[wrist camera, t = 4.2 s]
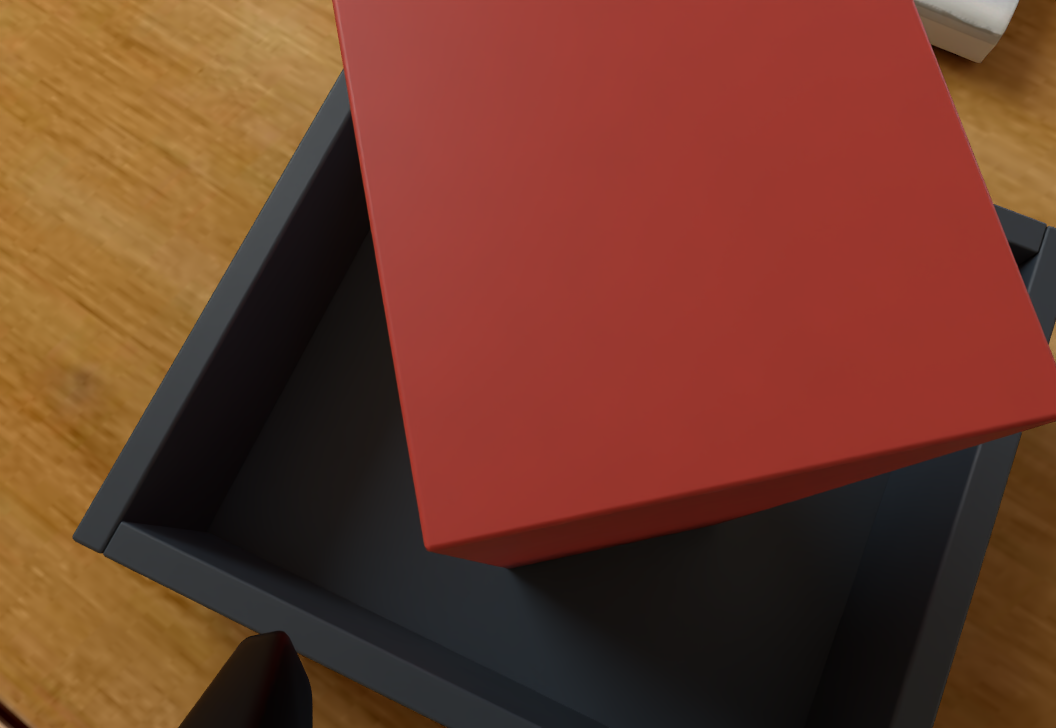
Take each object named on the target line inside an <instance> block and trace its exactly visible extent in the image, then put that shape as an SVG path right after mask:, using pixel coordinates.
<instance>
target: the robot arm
mask: <svg viewBox="0 0 1056 728" xmlns="http://www.w3.org/2000/svg"><path fill="white" fill-rule="evenodd" d="M178 728H313V716H312V691H311V686H310V682H309V679H308V677H307V674H306V672H305V670H304V668H303V666H302V663H301V661H300V659H299V657H298V655H297V652H296V650H295V648H294V646H293V644H292V641H291V639H290V638H289V636H288V635H287V634H286V633H285V632H284V631H273V632H268V633H263V634H259V635H254V636H250V637H248V638H246V639H245V640H243V641H242V642H241V643H240V644H239V646H238V647H237V648H236V650H235V651H234V652H233V654H232V655H231V657H230V658H229V659H228V661H227V662H226V663H225V665H224V666H223V667H222V669H221V670H220V672H219V673H218V674H217V676H216V677H215V678H214V680H213V681H212V682H211V684H210V685H209V686H208V688H207V689H206V691H205V692H204V693H203V695H202V696H201V697H200V699H199V700H198V701H197V703H196V704H195V706H194V707H193V708H192V710H191V711H190V712H189V714H188V715H187V716H186V718H185V719H184V720H183V722H182V723H181V725H180V726H179V727H178Z"/></svg>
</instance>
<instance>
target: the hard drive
mask: <svg viewBox="0 0 1056 728" xmlns="http://www.w3.org/2000/svg"><path fill="white" fill-rule="evenodd" d="M1018 2H1019V0H914V3H915V5H916V8H917V11H918V13H919V16H920V18H921V21H922V23H923V26H924V28H925V31H926V34H927V36H928V39H929V41H930V44H932V45H934V46H936V47H939V48H941V49H944V50H947V51H949V52H952V53H954V54H957V55H959V56H961V57H964V58H966V59H969V60H971V61H974V62H976V63H981V62H982V61H983V59H984V58H985V57H986V56H987V54H988V53H989V52H990V51H991V50H992V49H993V48H994V47H995V46H996V44H997V43H998V41H999V40H1000V38H1001V37H1002V35H1003V34H1004V32H1005V30H1006V28H1007V26H1008V24H1009V22H1010V20H1011V18H1012V16H1013V13H1014V11H1015V9H1016V7H1017V4H1018Z"/></svg>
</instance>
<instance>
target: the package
mask: <svg viewBox="0 0 1056 728" xmlns="http://www.w3.org/2000/svg"><path fill="white" fill-rule="evenodd" d="M332 2H333V8H334V14H335V20H336V26H337V32H338V38H339V44H340V50H341V55H342V61H343V67H344V73H345V79H346V85H347V91H348V97H349V103H350V109H351V115H352V121H353V126H354V132H355V138H356V144H357V150H358V156H359V162H360V168H361V174H362V180H363V186H364V192H365V197H366V203H367V209H368V215H369V221H370V227H371V233H372V239H373V245H374V251H375V257H376V263H377V269H378V274H379V280H380V286H381V292H382V298H383V304H384V310H385V316H386V322H387V328H388V334H389V340H390V345H391V351H392V357H393V363H394V369H395V375H396V381H397V387H398V393H399V399H400V405H401V411H402V416H403V422H404V428H405V434H406V440H407V446H408V452H409V458H410V464H411V470H412V476H413V482H414V487H415V493H416V499H417V505H418V511H419V517H420V523H421V529H422V535H423V541H424V546H425V548H426V550H427V551H429V552H434V553H439V554H443V555H448V556H452V557H457V558H461V559H466V560H471V561H475V562H480V563H484V564H489V565H494V566H498V567H503V568H507V569H511V568H515V567H520V566H525V565H529V564H534V563H539V562H543V561H548V560H553V559H558V558H562V557H567V556H572V555H576V554H581V553H586V552H590V551H595V550H600V549H604V548H609V547H614V546H618V545H623V544H628V543H632V542H637V541H642V540H647V539H651V538H656V537H661V536H665V535H670V534H675V533H679V532H684V531H689V530H693V529H698V528H703V527H707V526H712V525H717V524H720V523H723V522H727V521H730V520H733V519H736V518H740V517H743V516H746V515H750V514H753V513H756V512H759V511H763V510H766V509H769V508H772V507H776V506H779V505H782V504H786V503H789V502H792V501H795V500H799V499H802V498H805V497H809V496H812V495H815V494H818V493H822V492H825V491H828V490H832V489H835V488H838V487H841V486H845V485H848V484H851V483H855V482H858V481H861V480H864V479H868V478H871V477H874V476H878V475H881V474H884V473H887V472H891V471H894V470H897V469H900V468H904V467H907V466H910V465H914V464H917V463H920V462H923V461H927V460H930V459H933V458H937V457H940V456H943V455H946V454H950V453H953V452H956V451H960V450H963V449H966V448H969V447H973V446H976V445H979V444H983V443H986V442H989V441H992V440H996V439H999V438H1002V437H1005V436H1009V435H1012V434H1015V433H1019V432H1022V431H1025V430H1028V429H1032V428H1035V427H1038V426H1042V425H1045V424H1048V423H1051V422H1055V421H1056V363H1055V361H1054V358H1053V355H1052V353H1051V350H1050V348H1049V345H1048V343H1047V340H1046V338H1045V335H1044V332H1043V330H1042V327H1041V325H1040V322H1039V320H1038V317H1037V315H1036V312H1035V309H1034V307H1033V304H1032V302H1031V299H1030V297H1029V294H1028V292H1027V289H1026V286H1025V284H1024V281H1023V279H1022V276H1021V274H1020V271H1019V269H1018V266H1017V263H1016V261H1015V258H1014V256H1013V253H1012V251H1011V248H1010V246H1009V243H1008V240H1007V238H1006V235H1005V233H1004V230H1003V228H1002V225H1001V223H1000V220H999V217H998V215H997V212H996V210H995V207H994V205H993V202H992V200H991V197H990V194H989V192H988V189H987V187H986V184H985V182H984V179H983V177H982V174H981V172H980V169H979V166H978V164H977V161H976V159H975V156H974V154H973V151H972V149H971V146H970V143H969V141H968V138H967V136H966V133H965V131H964V128H963V126H962V123H961V120H960V118H959V115H958V113H957V110H956V108H955V105H954V103H953V100H952V97H951V95H950V92H949V90H948V87H947V85H946V82H945V80H944V77H943V74H942V72H941V69H940V67H939V64H938V62H937V59H936V57H935V54H934V51H933V49H932V46H931V44H930V41H929V39H928V36H927V34H926V31H925V28H924V26H923V23H922V21H921V18H920V16H919V13H918V11H917V8H916V5H915V3H914V0H332Z"/></svg>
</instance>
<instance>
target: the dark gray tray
mask: <svg viewBox="0 0 1056 728" xmlns="http://www.w3.org/2000/svg"><path fill="white" fill-rule="evenodd" d="M993 205H994V207H995V210H996V212H997V215H998V217H999V220H1000V223H1001V225H1002V228H1003V230H1004V233H1005V235H1006V238H1007V240H1008V243H1009V246H1010V248H1011V251H1012V253H1013V256H1014V258H1015V261H1016V263H1017V266H1018V269H1019V271H1020V274H1021V276H1022V279H1023V281H1024V284H1025V286H1026V289H1027V292H1028V294H1029V297H1030V299H1031V302H1032V304H1033V307H1034V309H1035V312H1036V315H1037V317H1038V320H1039V322H1040V325H1041V327H1042V330H1043V332H1044V335H1045V338H1046V340H1047V343H1048V344H1049V341H1050V338H1051V335H1052V331H1053V328H1054V325H1055V321H1056V228H1054V227H1050V226H1048V227H1046V226H1047V225H1046V224H1045V223H1043V222H1040V221H1038V220H1035V219H1032V218H1030V217H1027V216H1024V215H1022V214H1019V213H1016V212H1014V211H1011V210H1008V209H1006V208H1003V207H1000V206H998V205H995V204H993ZM1021 434H1022V432H1019V433H1015V434H1012V435H1009V436H1005V437H1002V438H999V439H996V440H992V441H989V442H986V443H983V444H979V445H976V446H973V447H969V448H966V449H963V450H960V451H956V452H953V453H950V454H946V455H943V456H940V457H937V458H933V459H930V460H927V461H923V462H920V463H917V464H914V465H910V466H907V467H904V468H900V469H897V470H894V471H891V472H887V473H884V474H881V475H878V476H874V477H871V478H868V479H864V480H861V481H858V482H855V483H851V484H848V485H845V486H841V487H838V488H835V489H832V490H828V491H825V492H822V493H818V494H815V495H812V496H809V497H805V498H802V499H799V500H795V501H792V502H789V503H786V504H782V505H779V506H776V507H772V508H769V509H766V510H763V511H759V512H756V513H753V514H750V515H746V516H743V517H740V518H736V519H733V520H730V521H727V522H723V523H720V524H717V525H712V526H707V527H703V528H698V529H693V530H689V531H684V532H679V533H675V534H670V535H665V536H661V537H656V538H651V539H647V540H642V541H637V542H632V543H628V544H623V545H618V546H614V547H609V548H604V549H600V550H595V551H590V552H586V553H581V554H576V555H572V556H567V557H562V558H558V559H553V560H548V561H543V562H539V563H534V564H529V565H525V566H520V567H515V568H511V569H507V568H503V567H498V566H494V565H489V564H484V563H480V562H475V561H471V560H466V559H461V558H457V557H452V556H448V555H443V554H439V553H434V552H429V551H427V550H426V548H425V546H424V541H423V535H422V529H421V523H420V517H419V511H418V505H417V499H416V493H415V487H414V482H413V476H412V470H411V464H410V458H409V452H408V446H407V440H406V434H405V428H404V422H403V416H402V411H401V405H400V399H399V393H398V387H397V381H396V375H395V369H394V363H393V357H392V351H391V345H390V340H389V334H388V328H387V322H386V316H385V310H384V304H383V298H382V292H381V286H380V280H379V274H378V269H377V263H376V257H375V251H374V245H373V239H372V233H371V227H370V221H369V215H368V209H367V203H366V197H365V192H364V186H363V180H362V174H361V168H360V162H359V156H358V150H357V144H356V138H355V132H354V126H353V121H352V115H351V109H350V103H349V97H348V91H347V85H346V79H345V73H344V68H343V70H342V72H341V74H340V75H339V77H338V79H337V81H336V82H335V84H334V86H333V87H332V89H331V91H330V93H329V94H328V96H327V98H326V99H325V101H324V103H323V105H322V106H321V108H320V110H319V112H318V113H317V115H316V117H315V118H314V120H313V122H312V124H311V125H310V127H309V129H308V131H307V132H306V134H305V136H304V137H303V139H302V141H301V143H300V144H299V146H298V148H297V150H296V151H295V153H294V155H293V156H292V158H291V160H290V162H289V163H288V165H287V167H286V169H285V170H284V172H283V174H282V175H281V177H280V179H279V181H278V182H277V184H276V186H275V188H274V189H273V191H272V193H271V194H270V196H269V198H268V200H267V201H266V203H265V205H264V207H263V208H262V210H261V212H260V213H259V215H258V217H257V219H256V220H255V222H254V224H253V226H252V227H251V229H250V231H249V232H248V234H247V236H246V238H245V239H244V241H243V243H242V244H241V246H240V248H239V250H238V251H237V253H236V255H235V257H234V258H233V260H232V262H231V263H230V265H229V267H228V269H227V270H226V272H225V274H224V276H223V277H222V279H221V281H220V282H219V284H218V286H217V288H216V289H215V291H214V293H213V295H212V296H211V298H210V300H209V301H208V303H207V305H206V307H205V308H204V310H203V312H202V314H201V315H200V317H199V319H198V320H197V322H196V324H195V326H194V327H193V329H192V331H191V333H190V334H189V336H188V338H187V339H186V341H185V343H184V345H183V346H182V348H181V350H180V352H179V353H178V355H177V357H176V358H175V360H174V362H173V364H172V365H171V367H170V369H169V371H168V372H167V374H166V376H165V377H164V379H163V381H162V383H161V384H160V386H159V388H158V389H157V391H156V393H155V395H154V396H153V398H152V400H151V402H150V403H149V405H148V407H147V408H146V410H145V412H144V414H143V415H142V417H141V419H140V421H139V422H138V424H137V426H136V427H135V429H134V431H133V433H132V434H131V436H130V438H129V440H128V441H127V443H126V445H125V446H124V448H123V450H122V452H121V453H120V455H119V457H118V459H117V460H116V462H115V464H114V465H113V467H112V469H111V471H110V472H109V474H108V476H107V478H106V479H105V481H104V483H103V484H102V486H101V488H100V490H99V491H98V493H97V495H96V497H95V498H94V500H93V502H92V503H91V505H90V507H89V509H88V510H87V512H86V514H85V516H84V517H83V519H82V521H81V522H80V524H79V526H78V528H77V529H76V531H75V533H74V534H73V539H74V541H76V542H78V543H80V544H82V545H84V546H86V547H88V548H90V549H92V550H94V551H96V552H98V553H104V554H103V555H104V556H105V557H107V558H109V559H111V560H113V561H115V562H117V563H119V564H121V565H123V566H125V567H127V568H129V569H131V570H133V571H135V572H137V573H139V574H141V575H143V576H145V577H147V578H149V579H151V580H153V581H155V582H157V583H159V584H161V585H163V586H165V587H167V588H169V589H171V590H173V591H175V592H177V593H179V594H181V595H183V596H185V597H187V598H189V599H191V600H193V601H195V602H197V603H199V604H201V605H203V606H205V607H207V608H209V609H211V610H213V611H215V612H217V613H219V614H221V615H223V616H225V617H227V618H229V619H231V620H233V621H235V622H237V623H239V624H241V625H243V626H245V627H247V628H249V629H251V630H253V631H255V632H257V633H259V634H263V633H268V632H273V631H284V632H285V633H286V634H287V635H288V636H289V638H290V639H291V641H292V644H293V646H294V648H295V650H296V652H297V653H299V654H301V655H303V656H305V657H307V658H309V659H311V660H313V661H315V662H317V663H319V664H321V665H323V666H325V667H327V668H329V669H331V670H333V671H335V672H337V673H339V674H341V675H343V676H345V677H347V678H349V679H351V680H353V681H355V682H357V683H359V684H361V685H363V686H365V687H367V688H369V689H371V690H373V691H375V692H377V693H379V694H381V695H383V696H385V697H387V698H389V699H391V700H393V701H395V702H397V703H399V704H401V705H403V706H405V707H407V708H409V709H411V710H413V711H415V712H417V713H419V714H421V715H423V716H425V717H427V718H429V719H431V720H433V721H435V722H437V723H439V724H441V725H443V726H445V727H447V728H933V724H934V721H935V718H936V714H937V711H938V708H939V705H940V701H941V698H942V695H943V691H944V688H945V685H946V681H947V678H948V675H949V672H950V668H951V665H952V662H953V658H954V655H955V652H956V648H957V645H958V642H959V638H960V635H961V632H962V629H963V625H964V622H965V619H966V615H967V612H968V609H969V605H970V602H971V599H972V596H973V592H974V589H975V586H976V582H977V579H978V576H979V572H980V569H981V566H982V563H983V559H984V556H985V553H986V549H987V546H988V543H989V539H990V536H991V533H992V529H993V526H994V523H995V520H996V516H997V513H998V510H999V506H1000V503H1001V500H1002V496H1003V493H1004V490H1005V487H1006V483H1007V480H1008V477H1009V473H1010V470H1011V467H1012V463H1013V460H1014V457H1015V453H1016V450H1017V447H1018V444H1019V440H1020V437H1021Z"/></svg>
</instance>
